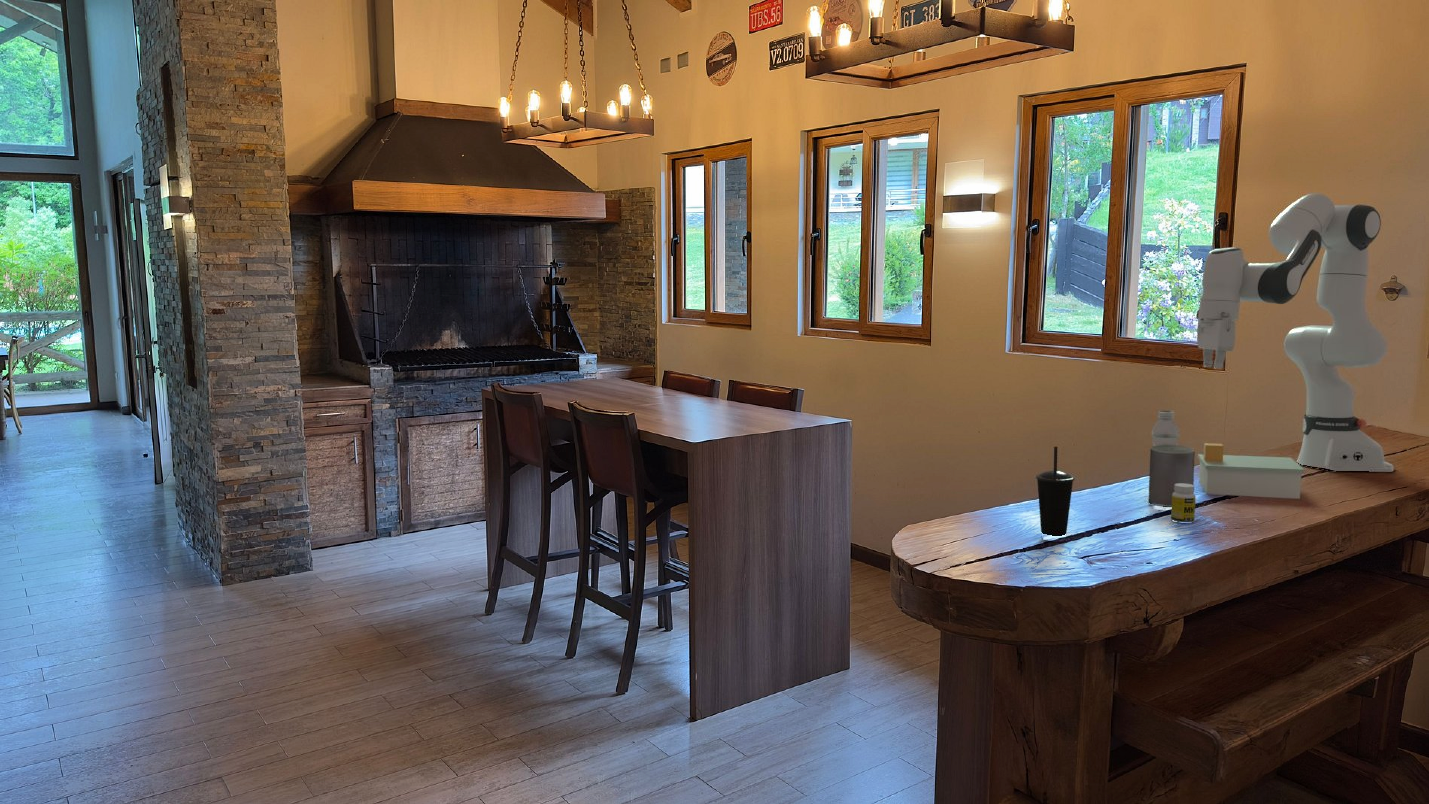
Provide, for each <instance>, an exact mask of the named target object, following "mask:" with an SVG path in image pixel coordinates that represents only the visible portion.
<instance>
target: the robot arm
mask: <svg viewBox="0 0 1429 804" xmlns="http://www.w3.org/2000/svg"><path fill="white" fill-rule="evenodd" d="M1381 223H1382V221H1381V216H1380V213H1379V212H1378V211H1377V209H1376V208H1375V207H1374V206H1371V205H1366V204H1356V205H1347V204H1340V205H1339V204H1338V205H1335V204H1334V202H1333V201H1332V199H1331V198H1330V197H1328V196H1327V195H1325V194H1322V193H1317V192H1313V193H1312V192H1311V193H1308V194H1305V195H1303V196H1302V197H1300V198H1298V199H1296V200H1295V201H1294V202H1292V203H1291V204H1290V205H1289V206H1286V208H1285V209H1284V210H1283V211H1281V212H1280V213H1279V215H1278V216H1277V217H1276V218H1275V219H1274V220H1273V221H1272V223H1271V224H1270V225H1269V226H1270V227H1269V229H1268V238H1269V242H1270V243H1271V245H1272V247H1273V248H1274V249H1275V250H1276V251H1277V252H1278V253H1280V254H1282V255H1284V256H1287V258H1286V259H1284V260H1283V261H1278V262H1269V263H1268V262H1265V263H1264V262H1263V263H1261V262H1260V263H1254V262H1253V263H1251V262H1250V261H1248V260H1246V259H1245V257H1244V251H1243V249H1242V248H1239V247H1223V248H1222V247H1220V248H1214V249H1212V250H1211V251H1209V252H1208V253H1207V256H1206V260H1205V263H1204V267H1203V274H1202V280H1201V281H1202V282H1201V284H1202V294H1201V297H1200V300H1199V307H1198V310H1197V312H1196V315H1195V316H1196V317H1195V319H1196V320H1198V321H1197V335H1196V336H1197V337H1196V345H1197V348H1198V349H1202V356H1203V358H1202V359H1203V364H1202V365H1203V366H1202V367H1204V368H1212V367H1213V369H1214V370H1223V368H1224V362H1225V359H1226V357H1227V352H1232V351H1234V349H1235V342H1236V329H1237V328H1236V322H1235V321H1237V322H1238V320H1239V317H1240V316H1239V315H1240V306H1241V302H1246V303H1247V302H1248V303H1249V302H1250V303H1255V302H1256V303H1267V304H1268V303H1269V304H1275V305H1276V304H1278V305H1283V304H1287V303H1288V302H1290V301H1291V300H1292V299H1293V298H1294V297H1295V296H1296V295H1298V293H1299V290H1300V288H1301V285H1302V282H1303V280H1304V278H1305V276H1306V275H1307V273H1308V271H1309V269H1310V268H1311V267H1312V266H1313V263H1314V262H1315V261H1316V258H1317V256H1318V254H1319V253H1320V251H1321V249H1325V250H1324V253H1323V256H1322V261H1321V265H1320V269H1319V270H1320V271H1319V275H1318V283H1317V290H1316V291H1317V292H1316V298H1315V299H1316V303H1317V305H1318V306H1319V307H1320V308H1321V309H1322V310H1324V311H1326V312H1327V313H1329V315H1330V317H1331V319H1332V325H1317V324H1315V325H1304V326H1298V327H1294V328H1292V329H1291V330H1290V331H1289V332H1288V333H1287V334H1286V336H1285V338H1284V341H1283V348H1284V352H1285V355H1286V357H1287V358H1288V359H1290V360H1291V361H1292V362H1293V363H1294V364H1295V365H1296V366H1297V368H1298V369H1299V371H1300V372H1301V374H1302V377H1303V380H1304V384H1305V388H1306V406H1305V407H1306V408H1305V409H1306V410H1305V413H1304V415H1303V419H1302V421H1303V423H1302V432H1303V433H1302V434H1303V439H1302V444H1301V447H1300V451H1299V455H1298V457H1297V460H1296V462H1298V463H1299V465H1300V464H1301V465H1300V466H1303V465H1307V466H1317V467H1322V468H1327V469H1330V470H1337V471H1369V473H1372V472H1373V473H1375V472H1376V473H1390V472H1391V473H1392V472H1394V469H1395V468H1394V465H1393V464H1392V463H1389V462H1387V461H1385V455H1384V450H1383V447H1382V445H1380V443H1378V442H1377V441H1375V439H1373V438H1372V437H1370V436H1369V435H1367V434H1366V433H1365V432H1364V431H1363V430H1360V429H1361V428H1366V426H1367V425H1368V422H1367V421H1366V420H1365V419H1363V418H1361V419H1360V418H1358V417H1356V416H1354V407H1355V405H1354V404H1355V390H1354V387H1353V386H1352V384H1351V383H1350V382H1348V381H1347V380H1345V379H1343V377H1341V375H1340V374H1339V372H1338V370H1337V367H1345V368H1363V367H1364V368H1365V367H1373V366H1376V365H1379V363H1380V362H1381V361H1382V360H1383V359H1384V357H1385V355H1386V354H1387V350H1388V349H1387V348H1388V344H1387V340H1386V337H1385V335H1383V333H1382V332H1381V331H1380V330H1378V329H1377V328H1376V327H1375V326H1374V324H1373V323H1372V322H1371V320H1370V318H1369V315H1368V312H1367V310H1366V291H1367V281H1368V276H1369V275H1368V273H1369V249H1368V248H1369V245H1371V244H1372V243H1373V242H1374V241H1375V239H1377V236H1378V235H1379V233H1380V230H1381V227H1382V226H1381ZM1214 351H1215V353H1214ZM1213 354H1215V355H1213ZM1213 356H1215V359H1214V361H1213ZM1307 466H1306V467H1307Z"/></svg>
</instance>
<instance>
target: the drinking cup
mask: <svg viewBox="0 0 1429 804" xmlns="http://www.w3.org/2000/svg"><path fill="white" fill-rule="evenodd" d="M1035 479H1036V480H1037V491H1038V492H1037V493H1038V507H1039V508H1038V509H1039V522H1040V533H1041V532H1042V533H1043V534H1047V535H1052V536H1062V535H1065V534H1066V535H1067V531H1068V524H1069V515H1070V507H1071V500H1072V499H1071V498H1072V491H1073V484H1074V481H1075V476H1074V475H1072V474H1069V473H1068V472H1065V471H1063V470H1058V446H1054V447H1053V470H1052V469H1051V470H1046V471H1042V472H1040V473H1038V474H1036V475H1035Z"/></svg>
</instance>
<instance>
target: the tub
mask: <svg viewBox="0 0 1429 804" xmlns="http://www.w3.org/2000/svg"><path fill="white" fill-rule="evenodd" d="M1198 477H1199V480H1198V483H1199V484H1200V485H1201V487H1202V489H1203V490H1204V493H1205V494H1206V495H1215V496H1217V495H1219V496H1234V497H1235V496H1236V497H1238V496H1239V497H1259V498H1275V499H1276V498H1277V499H1296V500H1297V499H1298V500H1300V499H1301V490H1302V489H1301V487H1302V485H1301V484H1302V474H1299V473H1275V472H1252V471H1228V470H1206V469H1205V468H1204V466H1203V465H1202V463H1201V462H1200V461H1199V476H1198Z"/></svg>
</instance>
